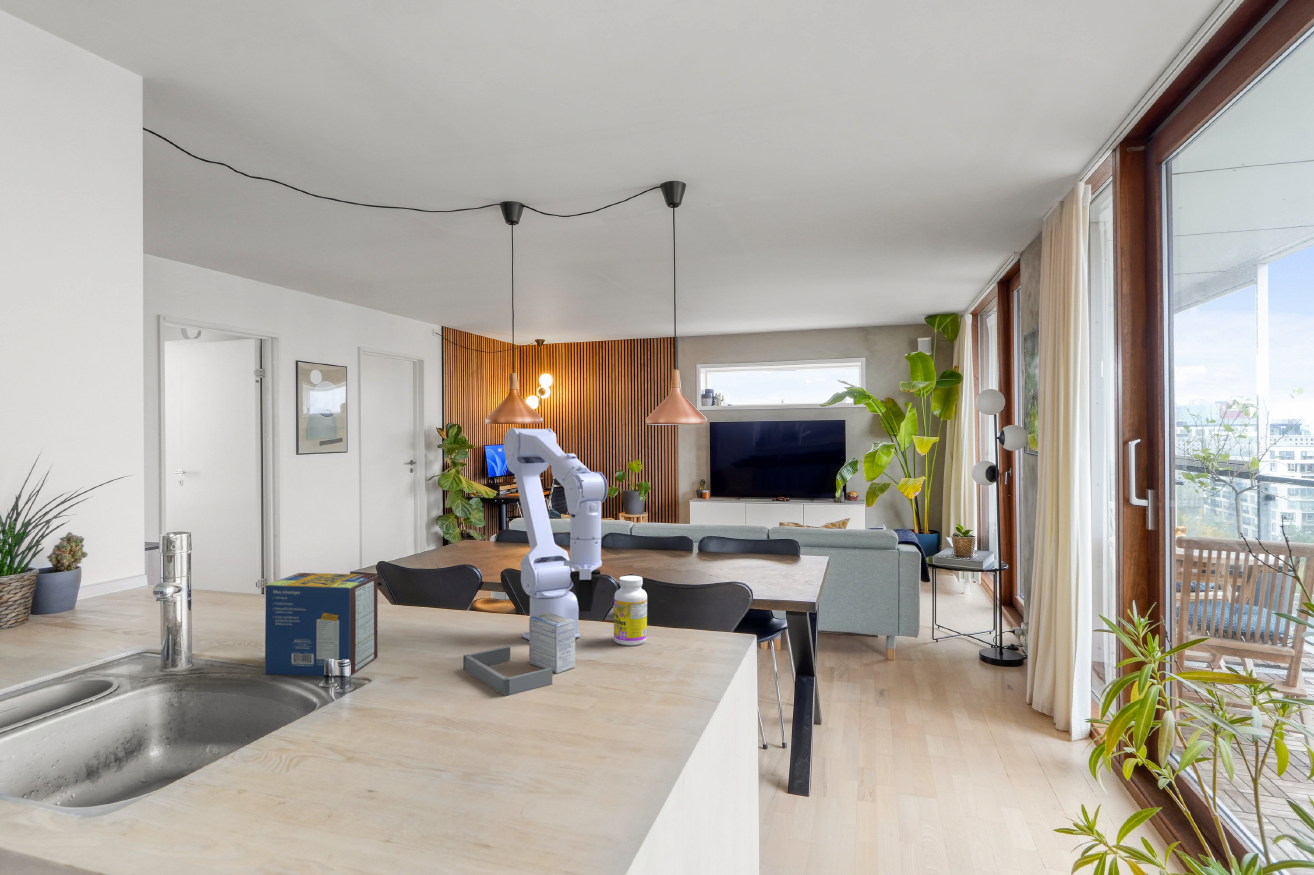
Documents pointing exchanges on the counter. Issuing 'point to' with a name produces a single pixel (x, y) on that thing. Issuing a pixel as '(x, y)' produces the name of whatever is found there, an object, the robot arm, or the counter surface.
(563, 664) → the medicine box
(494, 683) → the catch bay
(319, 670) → the protein box
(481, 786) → the counter surface
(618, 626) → the supplement bottle
